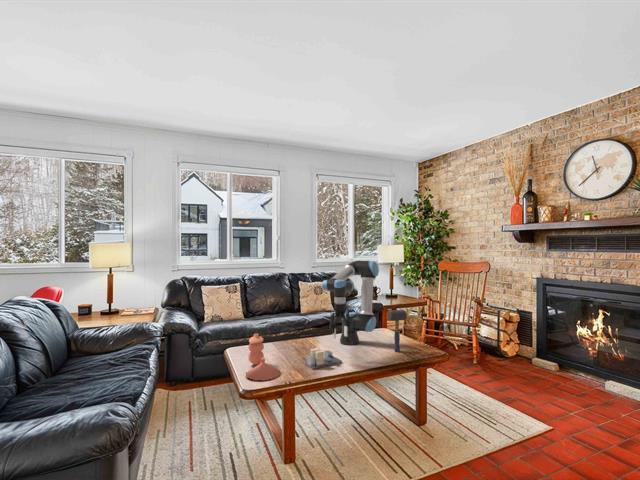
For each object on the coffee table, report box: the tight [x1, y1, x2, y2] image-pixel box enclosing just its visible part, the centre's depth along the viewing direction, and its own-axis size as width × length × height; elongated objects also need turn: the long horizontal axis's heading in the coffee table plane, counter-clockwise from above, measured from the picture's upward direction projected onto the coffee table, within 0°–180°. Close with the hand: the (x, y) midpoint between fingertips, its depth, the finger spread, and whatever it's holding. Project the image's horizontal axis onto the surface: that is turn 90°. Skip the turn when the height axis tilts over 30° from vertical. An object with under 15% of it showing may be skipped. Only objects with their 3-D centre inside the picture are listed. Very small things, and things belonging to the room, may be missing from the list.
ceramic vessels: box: [245, 333, 282, 381], centre depth 214 cm, size 35×21×19 cm, turn 23°
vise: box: [304, 353, 343, 370], centre depth 224 cm, size 10×22×7 cm, turn 122°
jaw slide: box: [323, 350, 335, 362], centre depth 224 cm, size 8×3×6 cm, turn 32°
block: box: [310, 347, 325, 366], centre depth 221 cm, size 8×5×8 cm, turn 32°
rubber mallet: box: [387, 309, 408, 353], centre depth 247 cm, size 12×8×30 cm, turn 104°
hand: (340, 337), depth 231 cm, fingers open, 9 cm apart
